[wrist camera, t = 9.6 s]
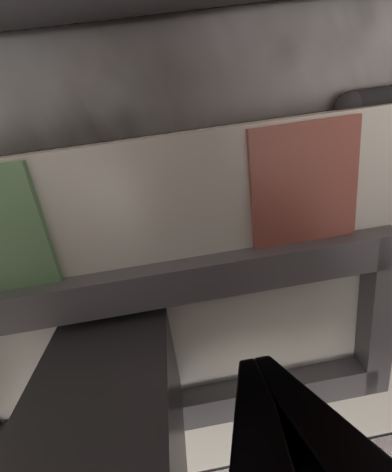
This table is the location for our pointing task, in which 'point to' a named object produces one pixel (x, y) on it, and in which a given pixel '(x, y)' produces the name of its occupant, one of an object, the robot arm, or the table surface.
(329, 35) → the table surface
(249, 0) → the rod
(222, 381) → the breaker switch base
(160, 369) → the breaker toggle
